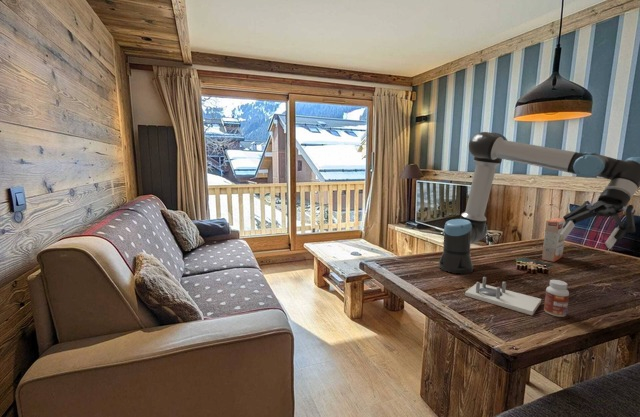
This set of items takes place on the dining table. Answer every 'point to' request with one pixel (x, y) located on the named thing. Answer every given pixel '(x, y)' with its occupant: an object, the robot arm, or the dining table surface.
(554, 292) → the pill bottle
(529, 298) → the pin tray
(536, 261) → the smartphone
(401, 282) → the dining table surface
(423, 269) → the dining table surface
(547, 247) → the cracker box
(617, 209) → the robot arm
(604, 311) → the dining table surface
